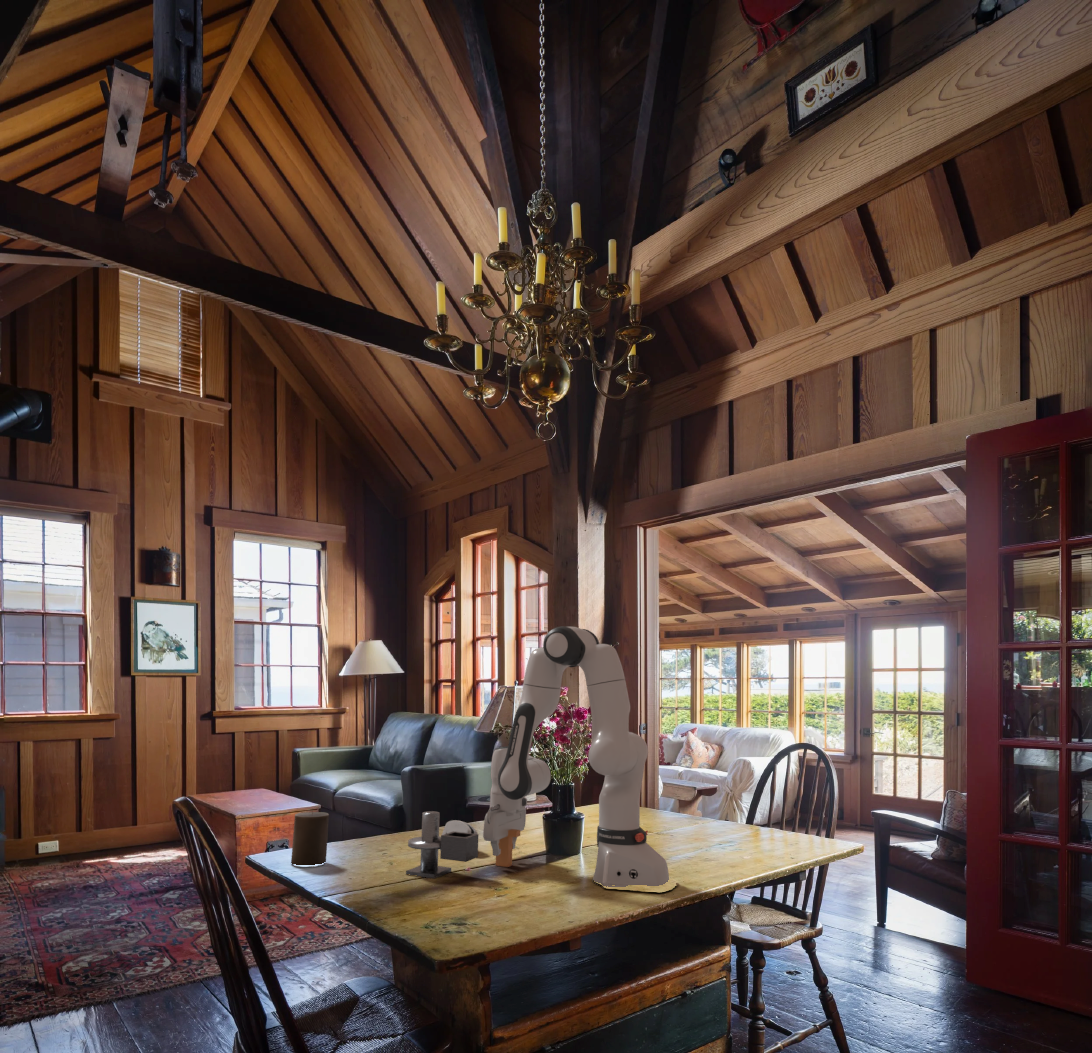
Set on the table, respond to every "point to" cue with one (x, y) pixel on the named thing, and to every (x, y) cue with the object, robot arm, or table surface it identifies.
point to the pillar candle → (310, 838)
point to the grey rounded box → (458, 827)
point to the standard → (441, 847)
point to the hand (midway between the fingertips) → (504, 852)
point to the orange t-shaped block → (506, 849)
